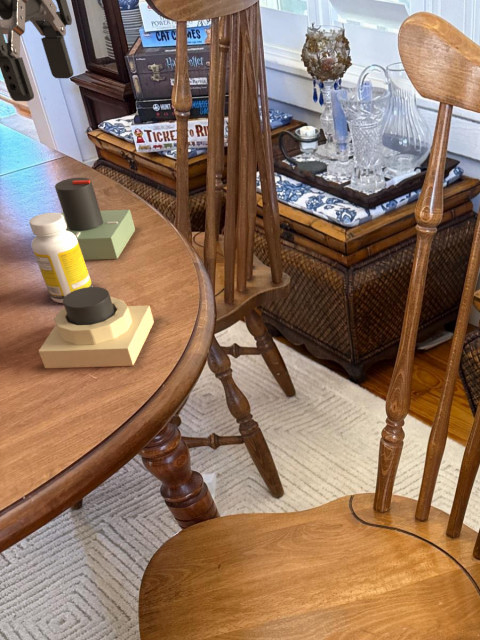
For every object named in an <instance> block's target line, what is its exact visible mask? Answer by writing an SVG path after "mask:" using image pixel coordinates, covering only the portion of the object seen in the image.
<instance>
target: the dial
mask: <svg viewBox="0 0 480 640" xmlns="http://www.w3.org/2000/svg"><path fill="white" fill-rule="evenodd" d="M54 189H55V192H56V196H57V198H58V201H59V204H60V207H61V210H62V212H63V213H64V216H65V219H66V222H67V225H68V228H69V229H71V230H76V231H83V230H89V229H93V228H96V227H98V226H100V225H101V224H102V223H103V219H102V216H101V212H100V211H101V209H100V206H99V203H98V199H97V196H96V192H95V188H94V186H93V182H92V180H91V179H90V178H87V177H71V178H66V179H63V180H61V181H58V182H57V183H56V184H54Z"/></svg>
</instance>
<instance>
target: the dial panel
mask: <svg viewBox="0 0 480 640" xmlns="http://www.w3.org/2000/svg"><path fill="white" fill-rule="evenodd" d="M100 212H101V216H102V219H103V223H102V224H101V225H100V226H98V227H96V228H93V229H89V230H83V231H76V230H71V229H69V228H68V225H67V222H66V219H65V216H64V213H63V211H62V212H60V214H62V215H63V217H64V220H65V222H66V226H67V228H66V230H67V231H70V232H72V233H73V234H74V235H75V236H76V238H77V240H78V243H79V246H80V249H81V252H82V255H83V258H84V261H92V260H93V261H97V260H118V259H119V257H120V255H121V254H122V252H123V251H124V249H125V247H126V246H127V244H128V243H129V241H130V239H131V238H132V237H133V235H134V233H135V232H136V227H135V224H134V220H133V215H132V212H131V209H109V210H106V209H105V210H100Z"/></svg>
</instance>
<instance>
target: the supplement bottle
mask: <svg viewBox="0 0 480 640" xmlns="http://www.w3.org/2000/svg"><path fill="white" fill-rule="evenodd" d="M28 223H29V226H30V230H31V231H32V234H33V235H34V236H35V237H34V238H33V239H32V241H31V248H32V252H33V254H34V257H35V259H36V263H37V265H38V268H39V270H40V274H41V275H42V278H43V281H44V283H45V286H46V290H47V292H48V295H49V296H50V298H51V300H52V301H53V302H55V303H58V304H63V299H64V297H65V296H66V295H68V294H69V293H71V292H73V291H75V290H78V289H82V288H87V287H94V286H93V282H92V280H91V276H90V273H89V270H88V268H87V265H86V262H85V261H86V260H84V258H83V255H82V252H81V249H80V246H79V243H78V240H77V238H76V236H75V235H74V234H73V233H72V232H70V231H67V230H66V228H67V226H66V222H65V220H64V217H63V215H62V214H61V212H60V213H59V212H45V213H41V214H38V215H35V216H32V217H31V218H30V219H29V221H28Z"/></svg>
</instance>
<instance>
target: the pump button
mask: <svg viewBox="0 0 480 640" xmlns="http://www.w3.org/2000/svg"><path fill="white" fill-rule="evenodd" d="M110 297H111V296H110V293H109V290H108V289H106V288H104V287H100V286H93V287H87V288H82V289H78V290H75V291H73V292H71V293H69V294H68V295H66V296H65V297H64V299H63V303H62V304H63V308H64V307H65V309H66V312H67V315H68V318H69V321H70V322H71V323H72V324H75V325H92V324H96V323H100V322H103V321H105V320H107V319H109V318H110V317H112V316H114V314H115V311H114V308H113V304H112V301H111V298H110Z"/></svg>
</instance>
